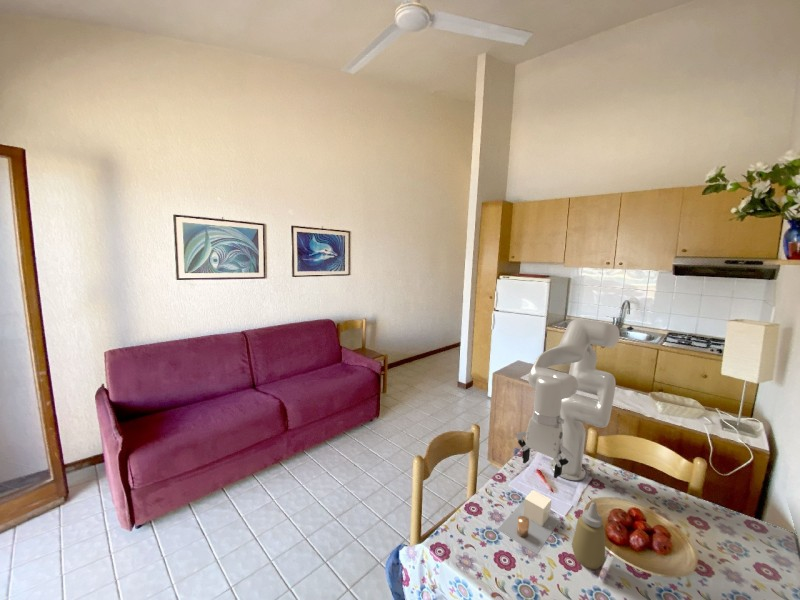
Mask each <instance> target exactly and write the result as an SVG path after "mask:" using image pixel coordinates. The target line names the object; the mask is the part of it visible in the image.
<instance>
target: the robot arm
mask: <svg viewBox="0 0 800 600" xmlns="http://www.w3.org/2000/svg"><path fill="white" fill-rule="evenodd" d="M619 340H620V329H619V327H618V326H617V325H616V324H612V323H609V322H604V321H597V320H591V319H590V320H589V319H583V318H576V319H573V320H571V321H570V322H569V323H568V324H567V327H566V329H565V331H564V333H563V335H562V337H561V339H560V340H559V344H558V345H556V346H554V347H551V348H549V349H547V350H545V351H544V352H542V353H541V354H539V355H538V356H537V357H536V359H535V361H534V363H533V365H532V367H531V369H530V371H529V374H528V385H530V387H531V388H533V389H534V390H535V391H534V398H533V399H534V400H533V409H532V410H533V411H532V415H531V417H530V419H529V421H528V425H527V429H526V431H519V432H517V433H516V434H515V437H516V438H517V443H518V444H519V447H520V448H521V451H522V455H521V458H522V463H523V464H525V465H526V464H527V463H528V462H529V461H530V454H531V450H533V451H535V452H537V453H540V454H542V455H544V456H546V457H549V458H551V459H552V460H551V461H549V462H550V463H549V467H550V469H551V471H552V472H553V477H554V479H557V478H559V477H561V478H563V479H566V480H569V481H582V480H583V479H585V478H586V470H585V469H584V467H583V457H584V449H585V442H586V429H585V426H584V424H583V423H585V424H588V425H590V426H594V427H597V428H606V427H608V425H609V423H610V419H611V414H612V408H613V403H614V398H615V393H616V378H615V376H614V374H613V373H610V372H607V371H605V370H600V369H597V368H596V366H597V361H598V355H597V352H596V351H595V349H594V348H593V347H592V345H593V346H598V347H604V348H614V347H615V346H617V344H618V342H619ZM568 364H570V365H569V371H568V373H566V372H562V371H558V370H554V369H550V367H554V366H559V365H568ZM577 391H579V392H583V393H586V394H589V395H593V396H596V397H597V398H598V399H596V398H593V397H590V396H585V395H583V394H579V393H577ZM524 437H525V439H523V438H524Z"/></svg>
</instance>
